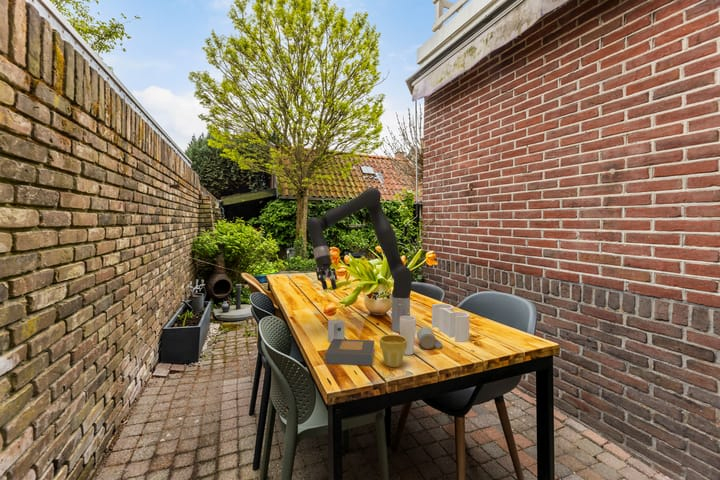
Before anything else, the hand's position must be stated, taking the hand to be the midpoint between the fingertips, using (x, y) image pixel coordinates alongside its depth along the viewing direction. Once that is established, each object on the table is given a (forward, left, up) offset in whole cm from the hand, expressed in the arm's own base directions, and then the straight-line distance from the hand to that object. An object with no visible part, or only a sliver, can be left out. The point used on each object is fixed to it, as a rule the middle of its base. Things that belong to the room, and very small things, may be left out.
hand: (330, 289), depth 151 cm
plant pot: (-30, +26, -23) cm, 46 cm away
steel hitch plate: (-13, +21, -23) cm, 33 cm away
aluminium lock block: (-4, +5, -23) cm, 24 cm away
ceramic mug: (-46, +6, -23) cm, 52 cm away
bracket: (-59, -13, -23) cm, 65 cm away
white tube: (-36, +15, -23) cm, 45 cm away
